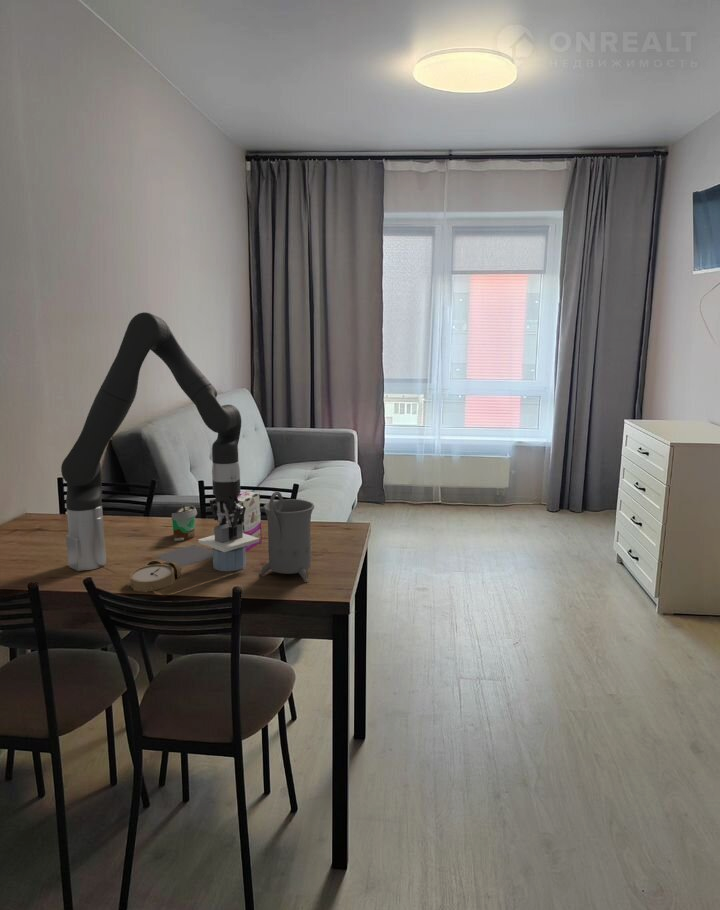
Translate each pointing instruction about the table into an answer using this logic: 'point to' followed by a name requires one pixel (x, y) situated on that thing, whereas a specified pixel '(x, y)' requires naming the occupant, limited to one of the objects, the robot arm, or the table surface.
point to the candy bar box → (251, 516)
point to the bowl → (229, 559)
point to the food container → (184, 523)
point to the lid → (227, 539)
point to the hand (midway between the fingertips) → (228, 537)
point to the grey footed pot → (288, 535)
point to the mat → (187, 555)
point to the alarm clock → (154, 576)
